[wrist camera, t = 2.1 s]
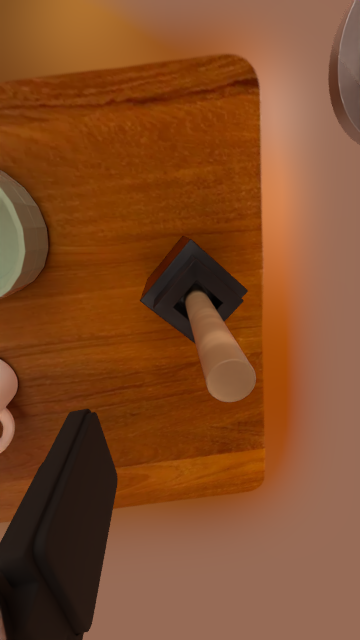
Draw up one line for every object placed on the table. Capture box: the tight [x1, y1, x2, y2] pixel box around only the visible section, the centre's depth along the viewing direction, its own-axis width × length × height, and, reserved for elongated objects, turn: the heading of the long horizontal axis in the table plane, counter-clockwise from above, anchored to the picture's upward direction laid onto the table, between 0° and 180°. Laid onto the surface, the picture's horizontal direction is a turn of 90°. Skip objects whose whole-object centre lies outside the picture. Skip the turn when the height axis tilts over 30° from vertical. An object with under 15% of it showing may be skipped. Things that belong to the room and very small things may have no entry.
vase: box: [140, 236, 248, 344], centre depth 27 cm, size 7×7×13 cm
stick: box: [183, 285, 256, 402], centre depth 17 cm, size 2×2×14 cm
